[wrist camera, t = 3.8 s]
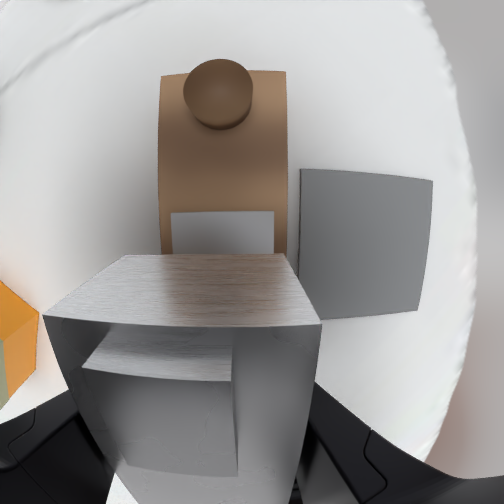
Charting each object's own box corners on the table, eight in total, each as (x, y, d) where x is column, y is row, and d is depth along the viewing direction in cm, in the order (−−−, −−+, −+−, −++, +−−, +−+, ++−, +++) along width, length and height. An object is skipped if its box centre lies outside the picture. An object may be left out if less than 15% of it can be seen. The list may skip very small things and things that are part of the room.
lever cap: (274, 428, 9) (288, 533, 5) (161, 424, 9) (134, 522, 5) (283, 253, 8) (338, 356, 3) (124, 255, 8) (15, 335, 3)
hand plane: (273, 375, 22) (282, 431, 16) (191, 375, 22) (178, 430, 16) (277, 92, 17) (293, 53, 11) (176, 95, 17) (147, 60, 11)
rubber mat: (415, 308, 21) (417, 310, 21) (295, 318, 21) (296, 321, 21) (430, 180, 19) (432, 180, 18) (300, 169, 18) (301, 168, 18)
